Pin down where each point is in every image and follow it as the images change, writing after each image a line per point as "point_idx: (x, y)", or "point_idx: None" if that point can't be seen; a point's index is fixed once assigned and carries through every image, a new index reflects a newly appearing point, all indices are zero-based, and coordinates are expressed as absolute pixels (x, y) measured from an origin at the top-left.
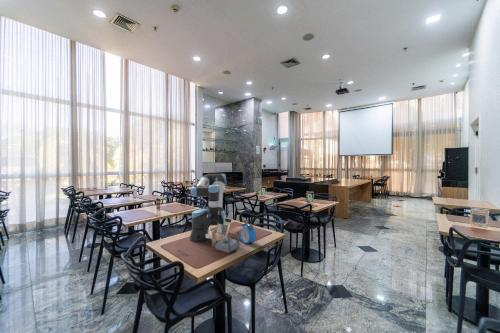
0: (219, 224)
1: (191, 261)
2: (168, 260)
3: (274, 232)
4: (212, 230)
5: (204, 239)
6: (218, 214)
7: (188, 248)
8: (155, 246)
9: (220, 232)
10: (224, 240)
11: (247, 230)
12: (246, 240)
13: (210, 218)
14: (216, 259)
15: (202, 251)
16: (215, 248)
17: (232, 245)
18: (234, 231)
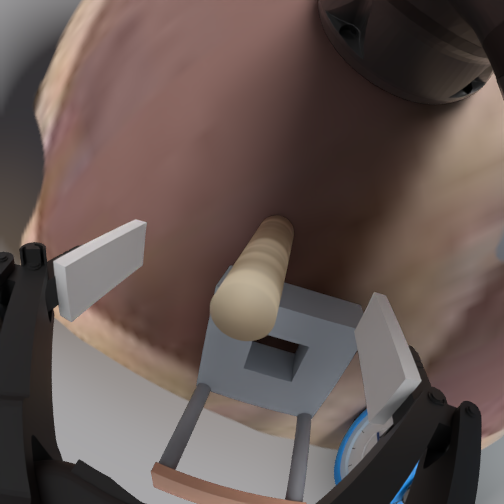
0: (388, 398)
1: (54, 205)
2: (36, 93)
3: (493, 438)
4: (224, 295)
5: (377, 81)
6: None
7: (172, 51)
8: None
9: (358, 329)
10: (312, 336)
11: None
12: (367, 428)
13: (31, 458)
14: (117, 318)
15: (158, 187)
16: (229, 267)
17: (237, 398)
18: (170, 493)
